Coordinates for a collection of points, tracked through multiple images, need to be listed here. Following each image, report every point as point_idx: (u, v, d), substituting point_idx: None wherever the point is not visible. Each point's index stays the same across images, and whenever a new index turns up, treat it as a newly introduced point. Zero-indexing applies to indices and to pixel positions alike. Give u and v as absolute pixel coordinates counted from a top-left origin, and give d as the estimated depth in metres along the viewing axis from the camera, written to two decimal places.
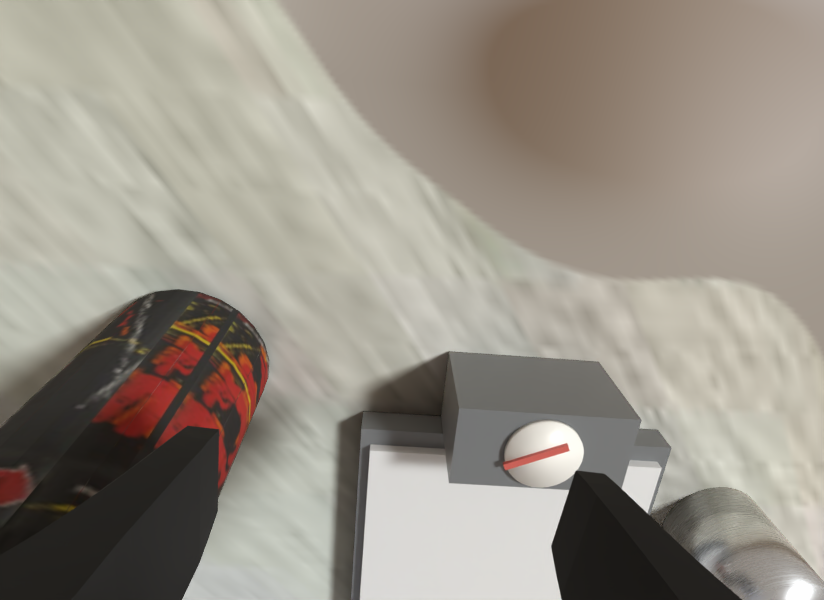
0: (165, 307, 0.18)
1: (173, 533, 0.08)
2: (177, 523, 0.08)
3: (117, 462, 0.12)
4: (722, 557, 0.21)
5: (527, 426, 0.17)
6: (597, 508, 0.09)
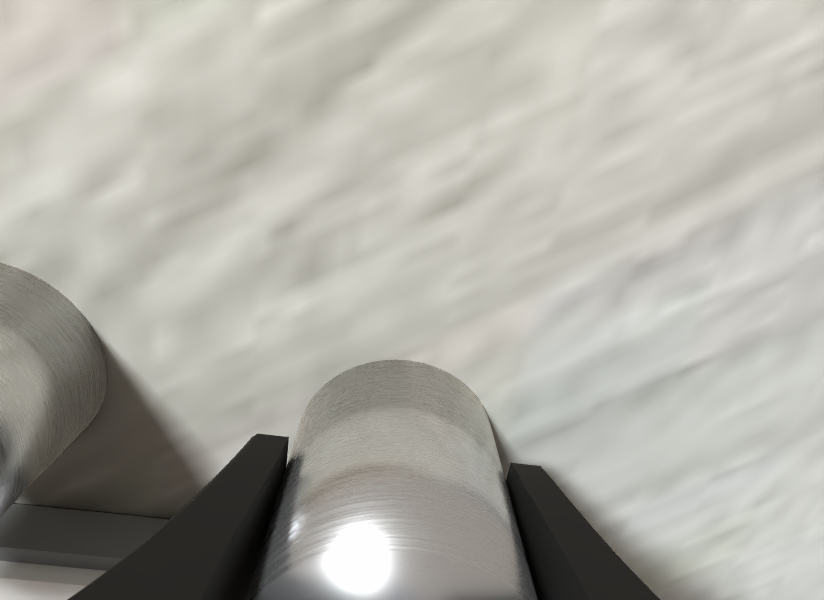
0: None
1: (255, 541, 0.08)
2: (259, 531, 0.09)
3: None
4: None
5: None
6: (525, 500, 0.09)
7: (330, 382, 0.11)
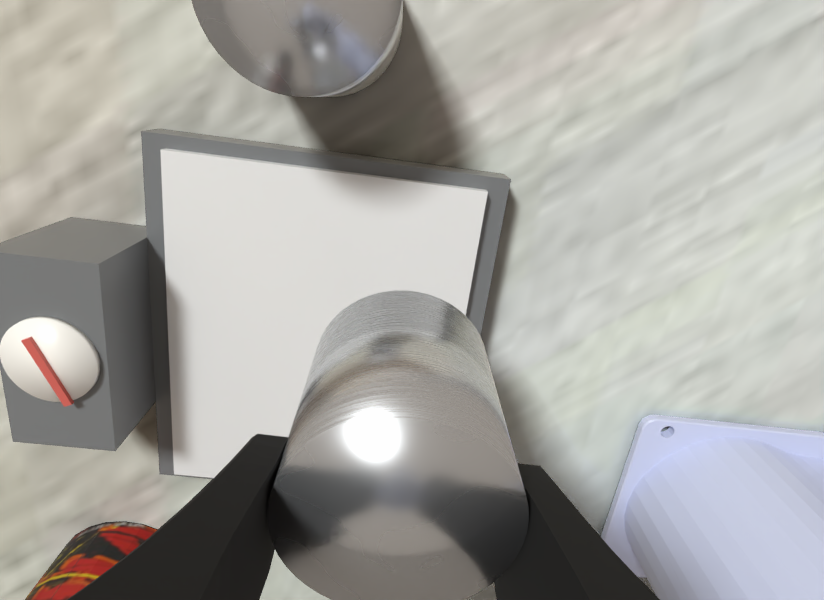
0: None
1: (255, 541, 0.08)
2: (259, 531, 0.09)
3: None
4: None
5: (19, 375, 0.15)
6: None
7: (357, 301, 0.13)
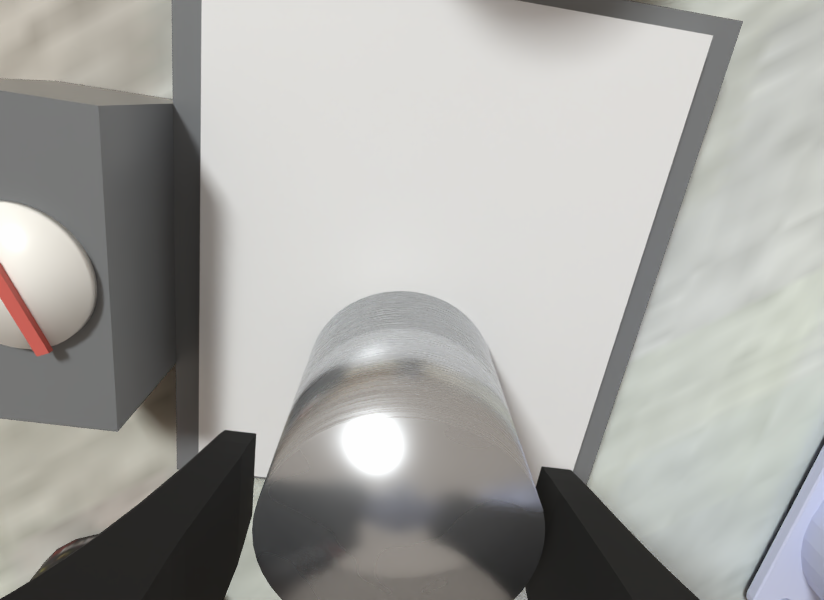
0: None
1: (217, 537, 0.08)
2: (221, 527, 0.08)
3: None
4: None
5: None
6: (559, 504, 0.09)
7: (358, 301, 0.12)
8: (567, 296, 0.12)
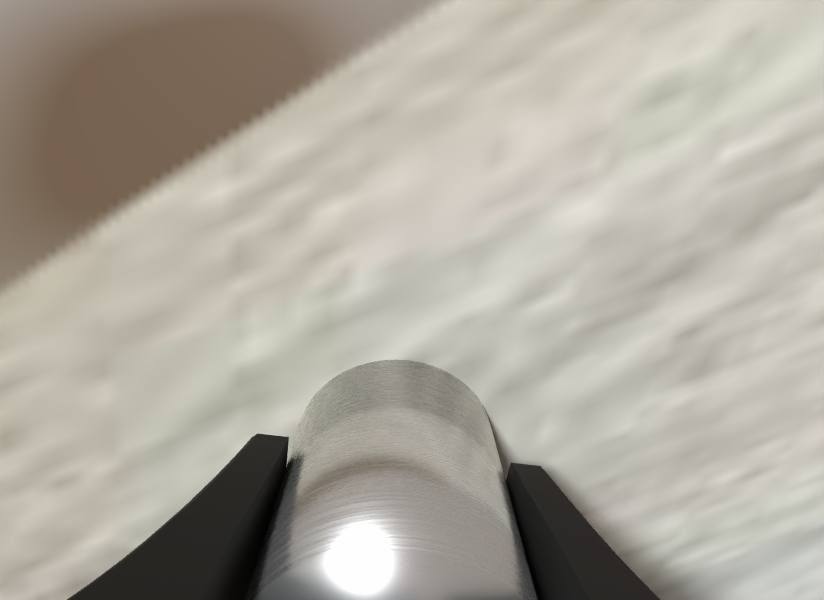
0: None
1: (256, 541, 0.08)
2: (259, 531, 0.09)
3: None
4: None
5: None
6: (525, 500, 0.09)
7: None
8: None
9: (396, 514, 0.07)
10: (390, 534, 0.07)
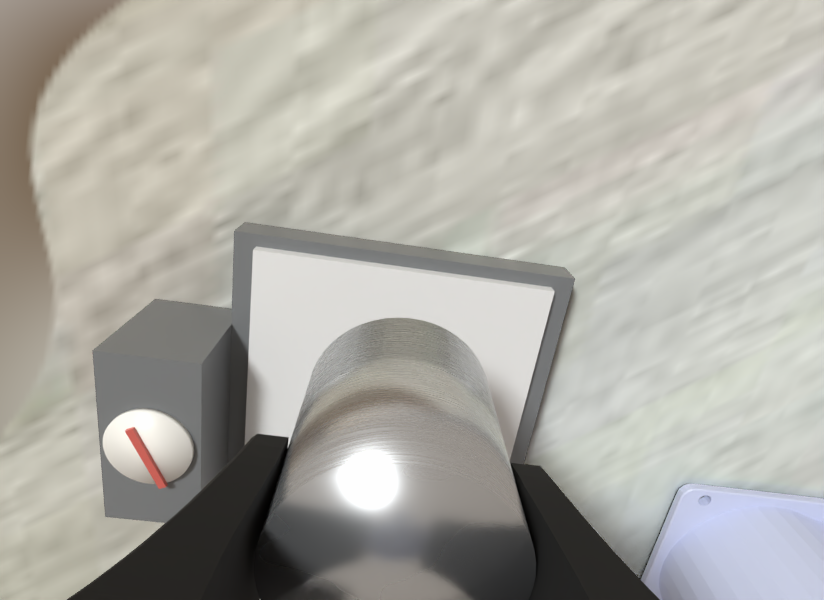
0: None
1: (255, 541, 0.08)
2: (259, 531, 0.09)
3: None
4: None
5: (117, 459, 0.16)
6: (525, 500, 0.09)
7: None
8: None
9: (397, 437, 0.08)
10: (393, 452, 0.08)
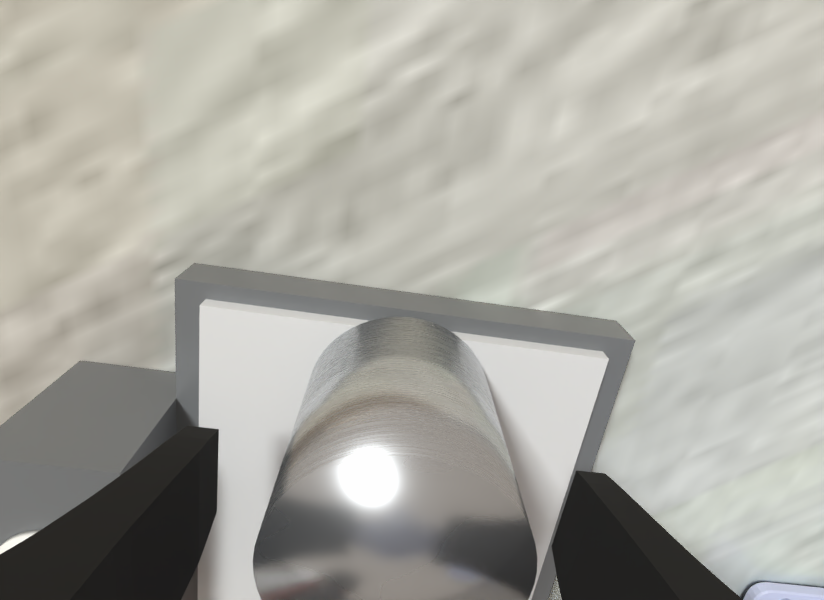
0: None
1: (171, 533, 0.08)
2: (176, 523, 0.08)
3: None
4: None
5: None
6: (597, 508, 0.09)
7: None
8: None
9: (398, 429, 0.08)
10: (393, 444, 0.08)
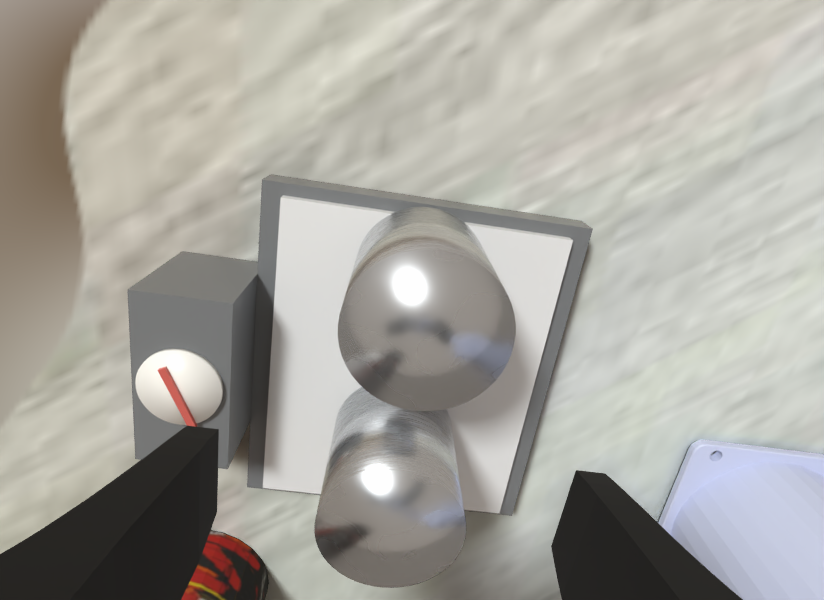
0: None
1: (171, 533, 0.08)
2: (176, 523, 0.08)
3: None
4: None
5: (149, 400, 0.16)
6: (597, 508, 0.09)
7: None
8: (496, 381, 0.19)
9: (428, 242, 0.13)
10: (426, 245, 0.12)
